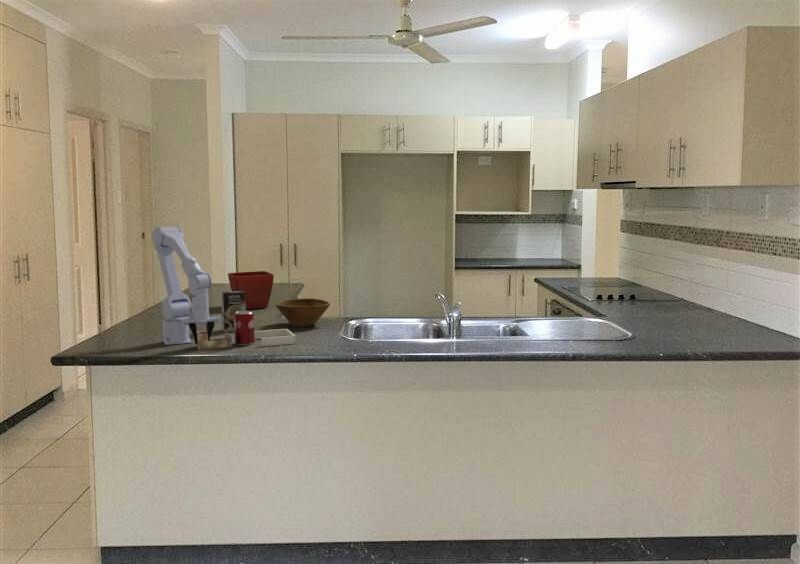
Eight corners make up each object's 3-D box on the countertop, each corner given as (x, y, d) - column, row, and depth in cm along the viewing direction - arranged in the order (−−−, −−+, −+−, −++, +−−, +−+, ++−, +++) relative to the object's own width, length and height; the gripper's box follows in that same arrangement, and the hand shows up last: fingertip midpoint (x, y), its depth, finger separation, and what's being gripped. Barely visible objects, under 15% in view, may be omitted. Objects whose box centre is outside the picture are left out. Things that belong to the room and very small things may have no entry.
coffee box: (224, 332, 278) (222, 293, 276) (222, 329, 284) (220, 291, 282) (246, 330, 282) (245, 292, 280) (244, 327, 288) (243, 289, 286)
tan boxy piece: (198, 350, 247) (198, 335, 246) (196, 345, 255) (195, 330, 254) (231, 347, 251) (231, 332, 250) (228, 342, 259) (227, 328, 258)
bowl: (321, 331, 280) (320, 307, 279) (268, 329, 285) (267, 305, 283) (336, 321, 301) (336, 298, 300) (287, 319, 306) (286, 297, 305)
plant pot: (228, 305, 344) (227, 272, 342) (265, 303, 352) (264, 270, 350) (236, 311, 327) (235, 276, 325) (275, 308, 335) (274, 274, 333)
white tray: (262, 346, 252) (261, 338, 252) (254, 338, 266) (254, 331, 265) (296, 343, 257) (295, 335, 257) (287, 336, 271) (286, 328, 270)
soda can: (234, 346, 253) (233, 314, 251) (235, 342, 260) (234, 311, 258) (254, 345, 254) (253, 313, 253) (254, 341, 261) (253, 310, 260)
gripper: (180, 309, 243) (182, 347, 245) (222, 306, 248) (223, 343, 250) (179, 306, 249) (180, 343, 251) (219, 304, 255) (221, 339, 257)
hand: (202, 343), depth 251 cm, fingers closed on tan boxy piece, 4 cm apart
